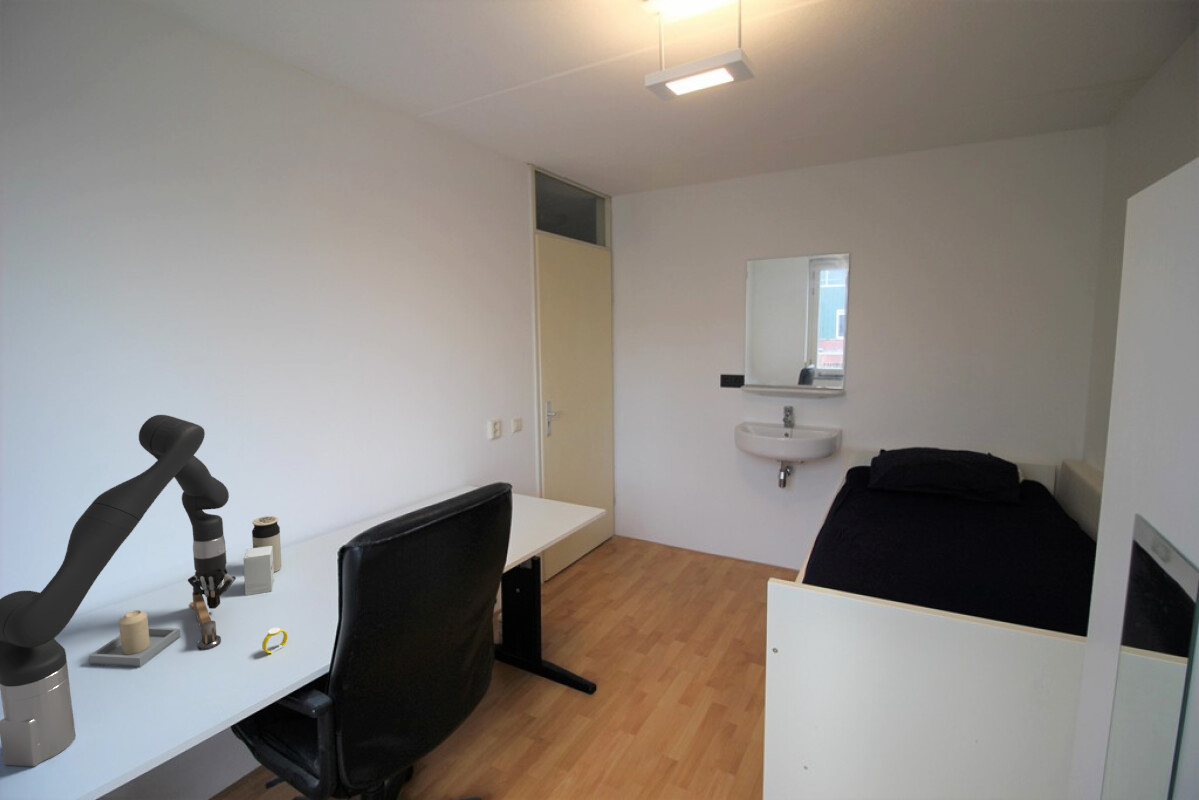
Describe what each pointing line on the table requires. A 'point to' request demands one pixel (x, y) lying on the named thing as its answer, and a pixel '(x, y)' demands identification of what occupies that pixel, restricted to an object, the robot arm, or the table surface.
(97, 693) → the table surface
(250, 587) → the supplement box
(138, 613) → the candle
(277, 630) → the watch
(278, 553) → the travel mug
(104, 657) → the tray
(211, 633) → the crank lever
